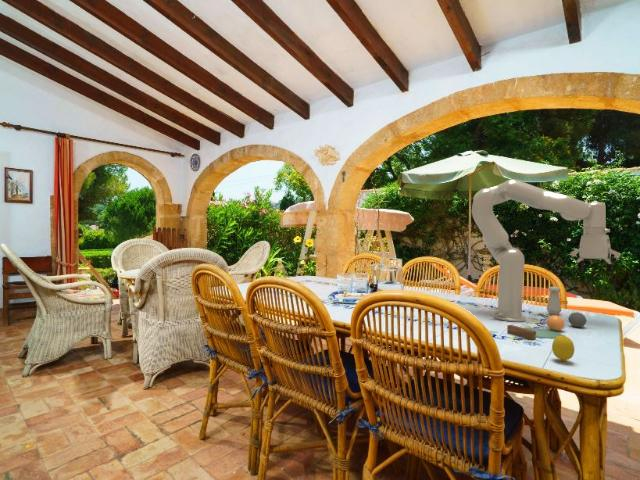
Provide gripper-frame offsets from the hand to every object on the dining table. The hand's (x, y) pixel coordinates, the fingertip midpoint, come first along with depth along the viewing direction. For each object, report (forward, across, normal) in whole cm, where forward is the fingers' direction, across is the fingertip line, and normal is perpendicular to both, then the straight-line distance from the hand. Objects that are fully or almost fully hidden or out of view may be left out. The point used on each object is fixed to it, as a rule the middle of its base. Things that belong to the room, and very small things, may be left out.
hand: (594, 272), depth 155 cm
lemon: (+21, -11, +62) cm, 67 cm away
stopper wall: (+21, +9, +45) cm, 50 cm away
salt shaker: (+22, +18, -7) cm, 29 cm away
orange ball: (+18, +5, +25) cm, 32 cm away
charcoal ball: (+19, +2, +12) cm, 22 cm away
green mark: (+21, +7, +34) cm, 41 cm away
